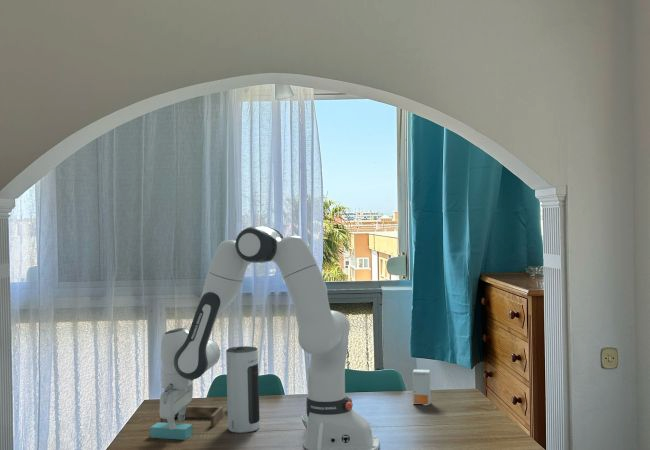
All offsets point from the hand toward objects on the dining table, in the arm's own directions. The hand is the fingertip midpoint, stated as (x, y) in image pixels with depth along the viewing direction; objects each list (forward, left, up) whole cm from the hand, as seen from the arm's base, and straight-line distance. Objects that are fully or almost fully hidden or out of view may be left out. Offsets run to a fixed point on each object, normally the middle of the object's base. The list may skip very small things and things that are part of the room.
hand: (176, 424), depth 202 cm
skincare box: (-77, -40, -4) cm, 87 cm away
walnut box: (0, -15, -4) cm, 15 cm away
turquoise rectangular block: (+2, 0, -4) cm, 4 cm away
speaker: (-19, -9, -4) cm, 21 cm away
